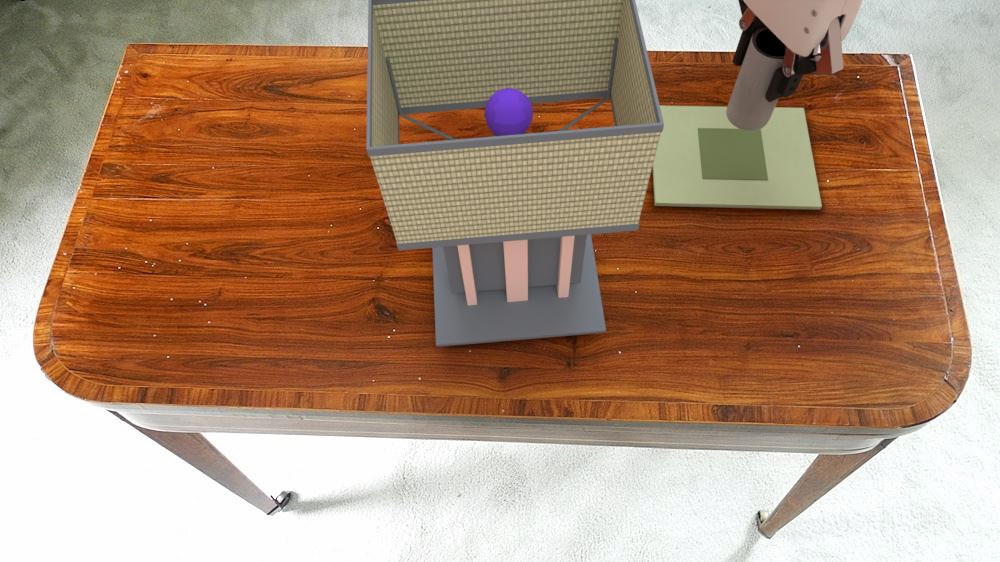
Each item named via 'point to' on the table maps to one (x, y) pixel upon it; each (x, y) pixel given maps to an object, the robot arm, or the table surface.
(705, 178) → the mat
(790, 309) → the table surface
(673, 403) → the table surface
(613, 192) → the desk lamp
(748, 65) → the gray hollow cylinder
